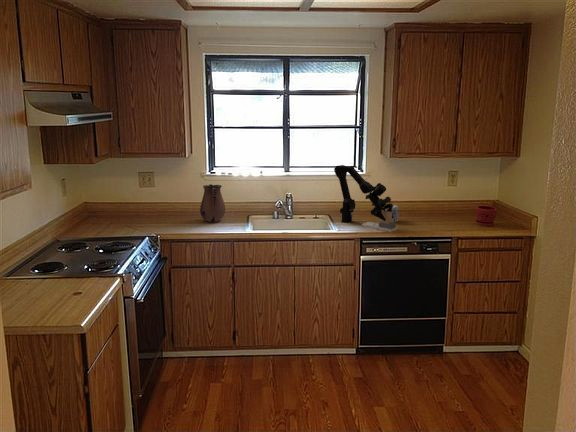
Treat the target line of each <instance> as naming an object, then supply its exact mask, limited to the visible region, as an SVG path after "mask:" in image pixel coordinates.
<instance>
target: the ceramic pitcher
mask: <svg viewBox="0 0 576 432" xmlns="http://www.w3.org/2000/svg"><path fill="white" fill-rule="evenodd" d="M222 186H223V185H221V184H214V185H213V184H212V183H211V184H206V185H205V184H204V185H203V186H202V188H203V196H202V199H201V202H200V207H199V214H200V216H201V217H202V219H203V220H204V221H205V222H209V223H215V222H217V223H218V222H220V221H221V220H222V219H223V218H224V216H225V214H226V207H225V201H224V199H223V194H222V191H221V188H222Z"/></svg>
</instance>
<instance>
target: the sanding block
mask: <svg viewBox="0 0 576 432" xmlns="http://www.w3.org/2000/svg"><path fill="white" fill-rule="evenodd" d="M382 214H383V216H384V217H385V219H386V221H384V220H382V221H378V224H379V227H382V228H387V229H393V228H396V227H397V222H394V223H393V222H392V212H389V211H386V212H384V211H382Z"/></svg>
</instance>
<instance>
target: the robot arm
mask: <svg viewBox="0 0 576 432" xmlns="http://www.w3.org/2000/svg"><path fill="white" fill-rule="evenodd" d="M333 171H334V173H335V174H334V175H335V176H336V178H337V179H338V180H339V181H338V182H339V185H340V189H341V194H342V197H343V202H342V207H341V208H339V213H340V214H341V223H352V221H353V214H352V213H354V211H355V209H356V205H357V204H356V201H355V199H354V198H352V197H351V194H350V193H351V192H350V188H349V185H348V180H347V175H348V174H349V175H350V176H351V178H352V179H353V180H354V181H355V182H356V184H357V185H358V186H359V190H360V191H361V193H362V194H364V195H365V194H366V195H365V200H369V201H370V202H371V206H372V207H373V208H372V209H371V210H370V214H371V216H374V217H376V218H378V219H380V220H382V221H383V220H384V221H386V219H385V217H384V216H383V212H384V211H385V212H386V211H389V212H392V208H393V205H394V204H393V203H391V202H392V198H391V197H390V196H386V197H385V198H380V197H381V196H382V195H383V194H384V193H385V192H386V191H387V187H386V186H385V185H384V184H382V183H381V182H378V183H377V184H376V185H375V186H373V184H371V183H370V182H368V181H366V180H365V179H364V177H362V175H361V174H360V173H359V172H358V171H357V170H356V168H355V167H354V166H353V165H351V166H347V165H344V164H342V165H341V164H340V165H336V166H335V167H334V168H333ZM393 218H394V217H393V213H392V219H393Z"/></svg>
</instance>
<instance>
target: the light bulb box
mask: <svg viewBox="0 0 576 432" xmlns="http://www.w3.org/2000/svg"><path fill="white" fill-rule="evenodd" d="M392 205H393V208H392V213H393V217H394V218H393V219H392V222H393V223H398V222H399V214H400V206H399V205H395V204H392ZM383 212H385V211H384V210H383Z"/></svg>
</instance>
